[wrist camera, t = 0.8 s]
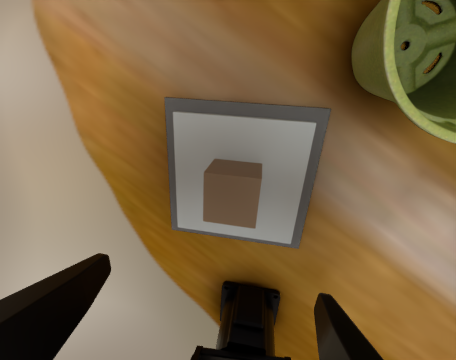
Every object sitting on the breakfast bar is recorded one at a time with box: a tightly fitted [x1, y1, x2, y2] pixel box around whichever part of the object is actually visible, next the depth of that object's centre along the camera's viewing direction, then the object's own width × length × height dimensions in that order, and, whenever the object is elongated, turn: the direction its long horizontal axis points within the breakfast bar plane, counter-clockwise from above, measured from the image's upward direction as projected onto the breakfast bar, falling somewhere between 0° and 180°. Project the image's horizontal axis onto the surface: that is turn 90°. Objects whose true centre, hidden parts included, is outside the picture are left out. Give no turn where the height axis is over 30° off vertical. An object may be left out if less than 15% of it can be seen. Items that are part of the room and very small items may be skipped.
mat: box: [165, 97, 331, 249], centre depth 19 cm, size 13×13×1 cm
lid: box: [173, 111, 316, 244], centre depth 17 cm, size 11×11×4 cm
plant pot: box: [352, 0, 456, 144], centre depth 10 cm, size 9×9×9 cm
